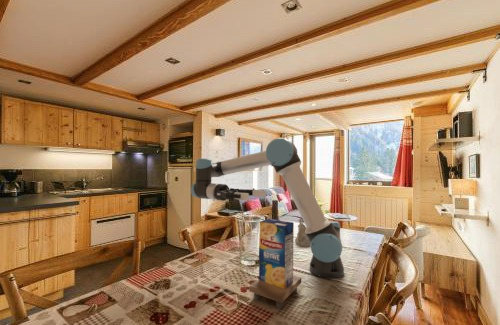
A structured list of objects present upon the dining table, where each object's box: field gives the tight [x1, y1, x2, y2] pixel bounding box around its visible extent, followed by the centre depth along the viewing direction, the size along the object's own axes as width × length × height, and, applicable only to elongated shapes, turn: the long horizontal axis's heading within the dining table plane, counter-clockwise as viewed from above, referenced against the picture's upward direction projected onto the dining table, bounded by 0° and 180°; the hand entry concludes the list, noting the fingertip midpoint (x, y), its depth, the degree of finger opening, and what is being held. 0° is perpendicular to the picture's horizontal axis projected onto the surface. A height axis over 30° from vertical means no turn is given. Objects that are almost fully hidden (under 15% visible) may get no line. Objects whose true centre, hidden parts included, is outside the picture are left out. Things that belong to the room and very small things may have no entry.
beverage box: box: [258, 218, 295, 289], centre depth 91 cm, size 7×11×22 cm, turn 54°
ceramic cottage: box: [294, 217, 311, 248], centre depth 153 cm, size 16×16×15 cm
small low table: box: [248, 274, 302, 310], centre depth 90 cm, size 17×13×5 cm
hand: (257, 195), depth 100 cm, fingers open, 13 cm apart
